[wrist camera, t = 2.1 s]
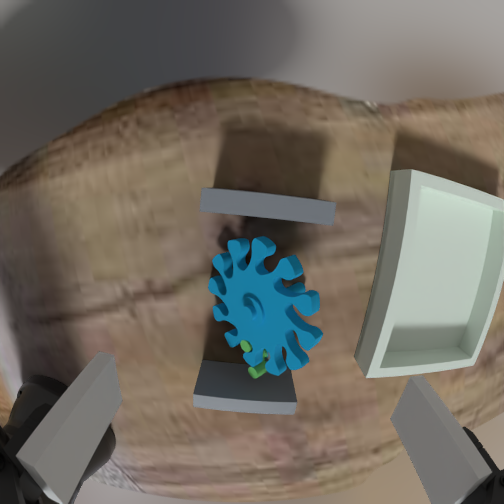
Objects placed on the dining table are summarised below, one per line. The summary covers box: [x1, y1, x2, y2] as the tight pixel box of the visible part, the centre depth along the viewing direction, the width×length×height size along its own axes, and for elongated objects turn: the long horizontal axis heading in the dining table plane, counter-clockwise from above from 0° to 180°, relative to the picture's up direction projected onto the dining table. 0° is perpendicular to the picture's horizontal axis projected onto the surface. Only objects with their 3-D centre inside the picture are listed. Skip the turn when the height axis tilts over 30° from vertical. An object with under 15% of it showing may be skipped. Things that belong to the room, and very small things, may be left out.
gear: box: [208, 236, 323, 379], centre depth 21 cm, size 11×6×10 cm
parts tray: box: [354, 169, 504, 378], centre depth 21 cm, size 14×17×4 cm
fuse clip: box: [193, 188, 336, 414], centre depth 21 cm, size 8×16×5 cm, turn 174°
